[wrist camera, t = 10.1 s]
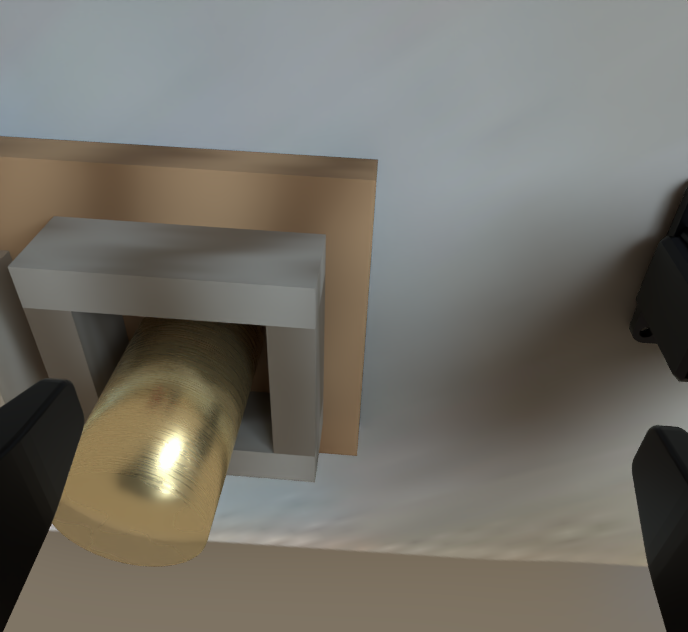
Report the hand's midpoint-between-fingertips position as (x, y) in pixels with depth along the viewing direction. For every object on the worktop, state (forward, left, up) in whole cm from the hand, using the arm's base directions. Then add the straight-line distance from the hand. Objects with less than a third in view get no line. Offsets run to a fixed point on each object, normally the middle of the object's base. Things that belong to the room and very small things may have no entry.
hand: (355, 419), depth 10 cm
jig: (+9, +8, -12) cm, 17 cm away
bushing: (+6, +8, -10) cm, 14 cm away
